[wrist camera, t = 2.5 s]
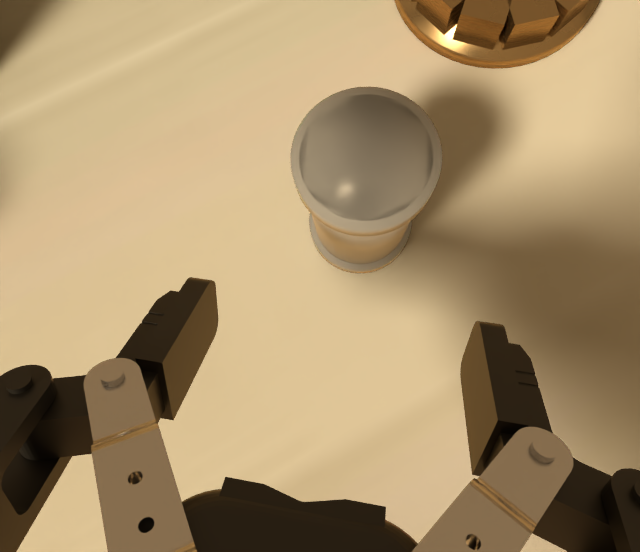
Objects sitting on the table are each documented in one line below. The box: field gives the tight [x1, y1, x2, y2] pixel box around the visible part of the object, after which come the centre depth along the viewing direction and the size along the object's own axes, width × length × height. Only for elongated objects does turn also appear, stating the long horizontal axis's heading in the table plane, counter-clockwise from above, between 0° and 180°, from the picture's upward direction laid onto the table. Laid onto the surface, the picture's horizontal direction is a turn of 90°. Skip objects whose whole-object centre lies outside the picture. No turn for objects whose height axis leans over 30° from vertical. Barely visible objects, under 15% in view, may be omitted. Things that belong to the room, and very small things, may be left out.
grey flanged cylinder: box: [291, 87, 442, 273], centre depth 21 cm, size 5×5×9 cm
